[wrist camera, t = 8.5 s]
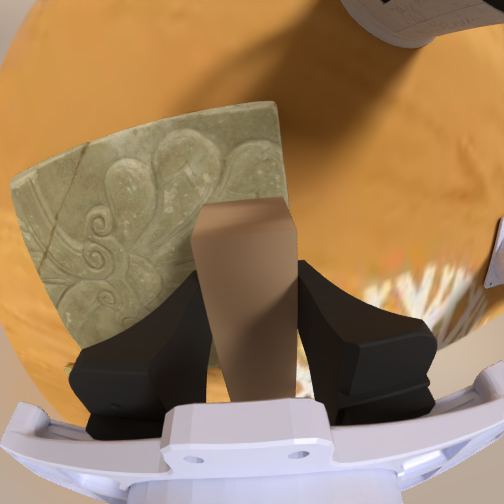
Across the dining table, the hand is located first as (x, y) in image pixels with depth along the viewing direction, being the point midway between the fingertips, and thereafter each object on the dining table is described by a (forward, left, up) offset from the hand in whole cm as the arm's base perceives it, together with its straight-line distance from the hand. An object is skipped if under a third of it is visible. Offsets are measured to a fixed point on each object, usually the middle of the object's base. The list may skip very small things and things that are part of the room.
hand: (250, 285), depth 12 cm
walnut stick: (0, +3, -2) cm, 3 cm away
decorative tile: (+7, +2, -8) cm, 11 cm away
